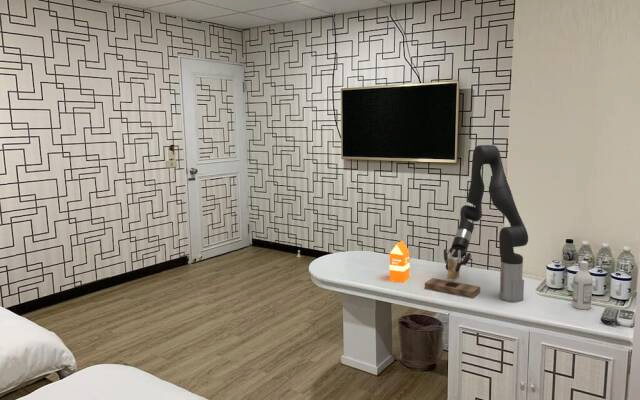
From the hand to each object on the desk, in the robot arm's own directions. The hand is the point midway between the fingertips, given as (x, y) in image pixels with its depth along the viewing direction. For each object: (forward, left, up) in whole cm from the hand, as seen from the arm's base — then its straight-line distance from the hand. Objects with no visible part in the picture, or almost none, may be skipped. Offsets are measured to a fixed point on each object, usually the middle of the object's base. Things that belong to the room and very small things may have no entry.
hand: (451, 270), depth 224 cm
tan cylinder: (+1, -2, -5) cm, 5 cm away
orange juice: (+26, +13, -11) cm, 31 cm away
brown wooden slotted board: (0, 0, -10) cm, 10 cm away
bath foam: (-41, -36, -11) cm, 56 cm away
